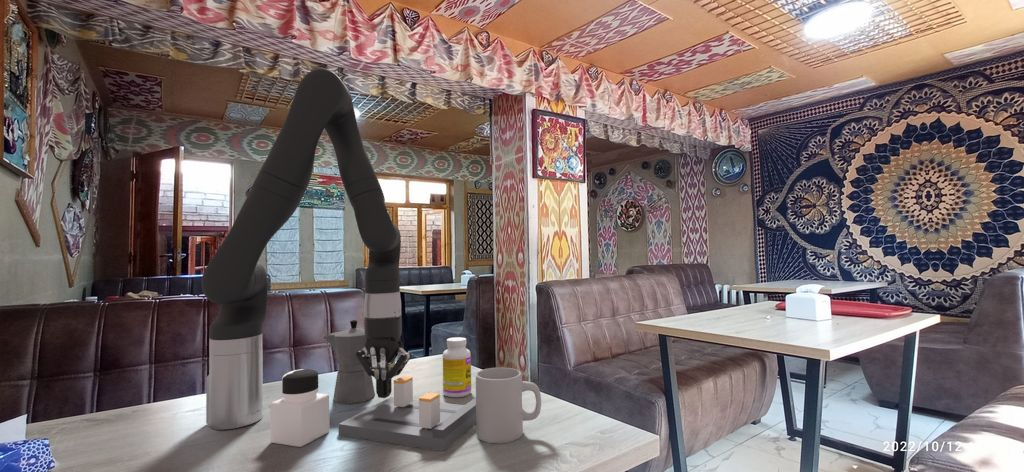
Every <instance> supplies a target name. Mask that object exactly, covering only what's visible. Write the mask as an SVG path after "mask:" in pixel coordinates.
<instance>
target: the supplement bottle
mask: <svg viewBox="0 0 1024 472" xmlns="http://www.w3.org/2000/svg"><path fill="white" fill-rule="evenodd" d="M446 346H447V349H445V350H444V351H443V352H442V393H443V396H445V397H448V398H462V397H463V398H464V397H467V396H468V395H470V394H471V392H472V356H471V355H472V354H471V350H470V349H468V348H467V347H466V346H467V338H466V337H459V336H458V337H449V338H447V339H446Z"/></svg>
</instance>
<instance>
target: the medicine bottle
mask: <svg viewBox="0 0 1024 472" xmlns="http://www.w3.org/2000/svg"><path fill="white" fill-rule="evenodd" d="M281 397H282V398H280V399H277V400H274V401H272V402H270V405H269V407H270V409H269V410H270V411H269V412H270V413H269V415H270V416H269V417H270V423H269V425H270V427H269V428H270V431H269V432H270V434H269V435H270V436H269V437H270V438H269V439H270V443H271V444H278V445H284V446H290V447H291V446H292V447H297V448H298V447H299V448H302V447H304V446H306V445H307V444H309V443H311V442H313V441H315V440H317V439H319V438H320V437H323V436H325V435H327V434H328V433H329V432H330V394H328V393H321V392H320V393H319V372H318V371H317V370H314V369H310V368H303V369H295V370H291V371H288V372H287V373H285V374H284V375H283V376H282V377H281Z"/></svg>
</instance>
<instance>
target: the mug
mask: <svg viewBox="0 0 1024 472" xmlns="http://www.w3.org/2000/svg"><path fill="white" fill-rule="evenodd" d="M526 391H528V392H532V393H534V396H535V406H534V407H535V408H534V409H533V410H531V411H528V410H525V409H523V392H526ZM475 399H476V424H475V430H476V431H475V432H476V434H475V435H476V436H477V438H478V439H479V440H480V441H482V442H485V443H487V444H489V443H490V444H507V443H511V442H514V441H517V440H519V439H520V438H522V436H523V433H524V423H523V422H526V421H528V422H529V421H533V420H536V419H537V418H538V417H539V416H540V413H541V410H542V409H541V408H542V395H541V391H540V388H539V386H538V385H537V384H536V383H535V382H531V381H527V380H526V381H524V380H523V379H522V373H521V371H520V370H519V369H516V368H511V367H490V368H485V369H482V370H479V371H478V372H476V374H475Z"/></svg>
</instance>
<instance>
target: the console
mask: <svg viewBox="0 0 1024 472" xmlns="http://www.w3.org/2000/svg"><path fill="white" fill-rule="evenodd" d="M474 425H476V398H472V399H471V400H470V401H468V402H467V403H466V404H455V403H447V402H440V423H438V424H437V425H435V426H434V427H433V428H431V429H430V428H423V427H419V399H413V402H412V403H410V404H408V405H407V406H405V407H399V406H394V396H391V397H390V396H389V398H388V397H387V399H386V398H385V399H384V400H383V401H381V402H378V403H377V404H375V405H373V406H370V407H369V408H367V409H365V410H363V411H360V412H359V413H357V414H355V415H353V416H351V417H349V418H347V419H345V420H344V421H341V422H340V423H338V426H337V427H338V436H344V437H350V438H356V439H360V440H361V439H362V440H368V441H375V442H381V443H387V444H388V443H389V444H394V445H395V444H396V445H400V446H401V445H402V446H406V447H412V448H413V447H414V448H421V449H424V450H425V449H427V450H431V451H432V450H434V451H437V452H438V451H440V452H444V451H446V450H447V449H448V448H449V447H450V446H451V445H453V444H454V443H455V442H456V441H457V440H458V439H460V438H461V437H462V436H463V435H464V434H466V433H467V431H468V430H470V429H471V428H473V426H474Z"/></svg>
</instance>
